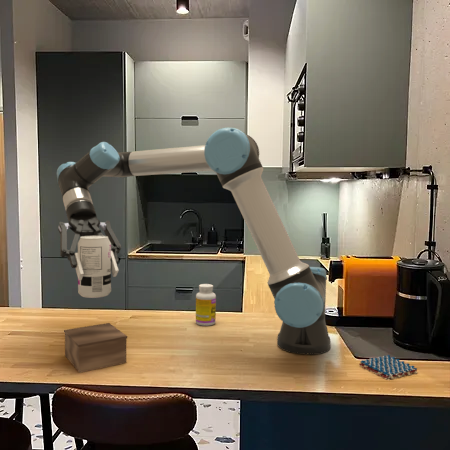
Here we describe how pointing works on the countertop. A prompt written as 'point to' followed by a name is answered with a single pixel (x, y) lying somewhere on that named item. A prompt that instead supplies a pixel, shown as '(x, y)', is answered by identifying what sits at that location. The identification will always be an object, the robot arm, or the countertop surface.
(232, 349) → the countertop surface
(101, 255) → the supplement can
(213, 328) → the countertop surface
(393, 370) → the woven mat
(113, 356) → the walnut tea box
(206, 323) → the supplement bottle
